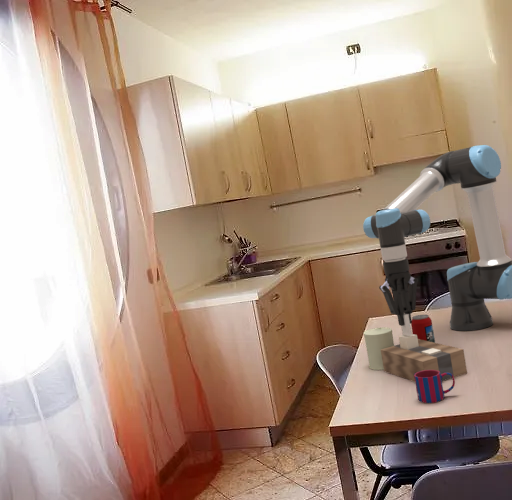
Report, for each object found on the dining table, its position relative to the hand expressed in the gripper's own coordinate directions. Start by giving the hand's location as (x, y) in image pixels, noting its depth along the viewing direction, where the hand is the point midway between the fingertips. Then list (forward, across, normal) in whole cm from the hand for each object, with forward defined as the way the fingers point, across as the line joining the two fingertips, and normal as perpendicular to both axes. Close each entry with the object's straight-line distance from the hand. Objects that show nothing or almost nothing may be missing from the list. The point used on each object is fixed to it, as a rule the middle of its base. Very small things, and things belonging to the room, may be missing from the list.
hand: (407, 334), depth 191 cm
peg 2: (+10, 0, +11) cm, 15 cm away
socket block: (+11, 0, +5) cm, 12 cm away
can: (+11, +4, -11) cm, 16 cm away
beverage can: (+11, -14, -13) cm, 22 cm away
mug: (+11, +11, +26) cm, 31 cm away
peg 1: (+7, 0, 0) cm, 7 cm away
